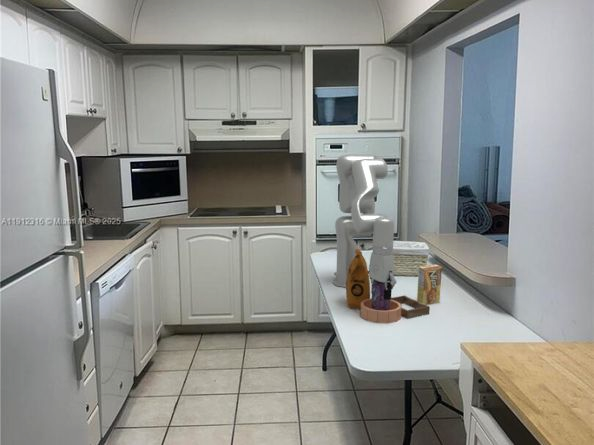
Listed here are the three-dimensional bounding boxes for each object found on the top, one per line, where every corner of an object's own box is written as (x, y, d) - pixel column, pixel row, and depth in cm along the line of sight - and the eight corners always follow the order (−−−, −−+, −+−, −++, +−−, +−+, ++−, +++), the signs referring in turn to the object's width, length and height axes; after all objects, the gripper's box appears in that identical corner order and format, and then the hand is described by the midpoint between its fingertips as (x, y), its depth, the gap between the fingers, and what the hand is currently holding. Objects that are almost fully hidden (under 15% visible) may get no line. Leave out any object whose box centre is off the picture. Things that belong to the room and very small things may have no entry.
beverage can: (369, 306, 192) (370, 276, 190) (387, 305, 193) (388, 276, 191) (373, 312, 185) (374, 281, 183) (392, 312, 186) (393, 281, 184)
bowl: (352, 312, 193) (353, 301, 192) (384, 306, 199) (384, 295, 199) (376, 325, 180) (376, 313, 179) (408, 319, 186) (409, 307, 186)
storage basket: (423, 269, 256) (425, 241, 253) (428, 278, 240) (430, 248, 237) (376, 267, 258) (377, 239, 256) (378, 276, 242) (379, 246, 240)
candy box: (433, 299, 209) (435, 264, 206) (440, 302, 205) (442, 266, 202) (416, 302, 205) (418, 266, 202) (423, 305, 201) (425, 268, 198)
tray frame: (382, 306, 200) (382, 299, 199) (404, 302, 205) (404, 295, 204) (406, 318, 187) (407, 311, 186) (429, 314, 192) (429, 306, 191)
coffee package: (343, 308, 197) (345, 254, 193) (346, 298, 209) (347, 247, 205) (369, 310, 195) (371, 256, 191) (370, 300, 207) (372, 248, 203)
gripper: (361, 246, 191) (359, 291, 194) (389, 256, 176) (387, 304, 179) (376, 244, 194) (375, 288, 197) (405, 254, 179) (403, 301, 182)
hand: (381, 295), depth 188 cm, fingers closed on beverage can, 6 cm apart
